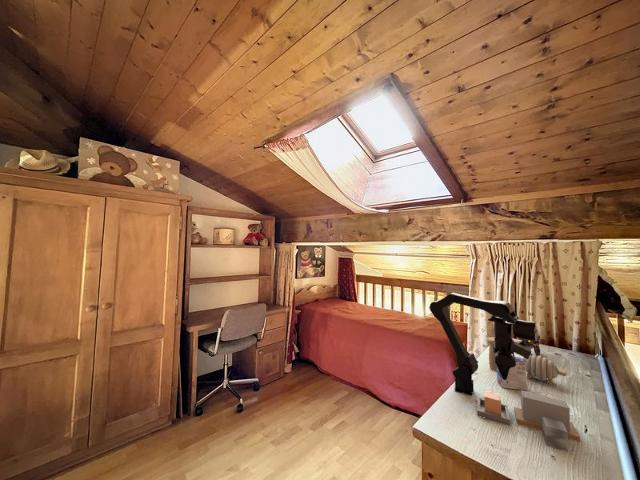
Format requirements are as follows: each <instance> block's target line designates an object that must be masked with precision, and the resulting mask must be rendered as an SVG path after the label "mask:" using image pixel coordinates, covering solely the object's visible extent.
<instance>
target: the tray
mask: <svg viewBox="0 0 640 480" xmlns="http://www.w3.org/2000/svg"><path fill="white" fill-rule="evenodd" d="M476 404H477V406H476V407H477V409H476V411H477V413H476V415H478V416H477V417H479V416H481V417H480V418H483V417H485V418H484V419H486V420H490V421H493V422H496V423H499V424H502V425H506V426H509V427H510V426H511V419H510V418H511V417H510V413H509V408H508V407H509V406H508V404H504V403H501V416H499V415H496V414H492V413H489V412H485V406H484V398H481V397H478V396H477V403H476Z"/></svg>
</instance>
